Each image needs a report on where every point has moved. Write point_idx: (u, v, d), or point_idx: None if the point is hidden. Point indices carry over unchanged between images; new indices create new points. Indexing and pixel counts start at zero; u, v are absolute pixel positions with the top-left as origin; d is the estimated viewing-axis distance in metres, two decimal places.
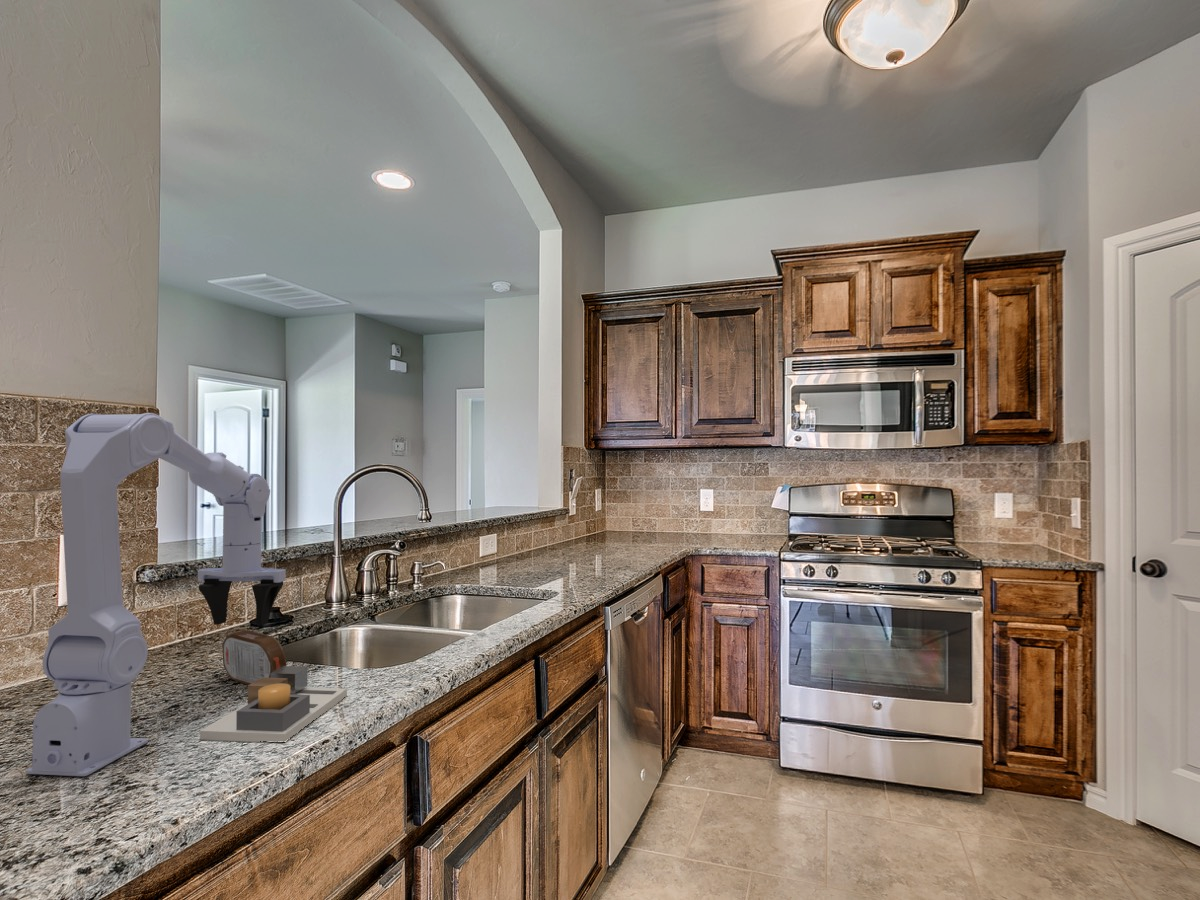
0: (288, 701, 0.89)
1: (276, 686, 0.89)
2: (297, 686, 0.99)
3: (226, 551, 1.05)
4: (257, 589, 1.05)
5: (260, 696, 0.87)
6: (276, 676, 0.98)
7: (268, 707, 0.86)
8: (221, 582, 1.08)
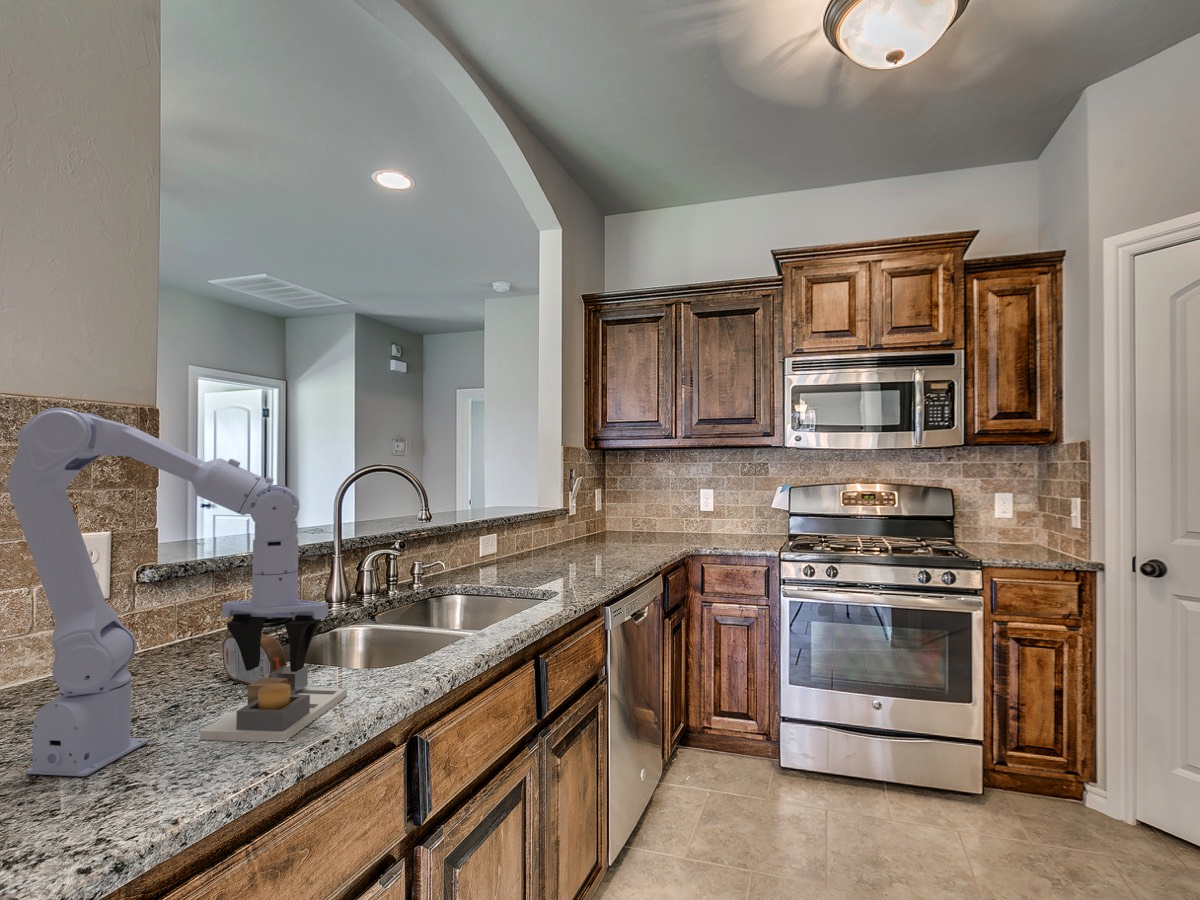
0: (288, 701, 0.89)
1: (276, 686, 0.89)
2: (297, 686, 0.99)
3: (257, 581, 0.86)
4: (291, 628, 0.86)
5: (260, 696, 0.87)
6: (276, 676, 0.98)
7: (268, 707, 0.86)
8: (253, 618, 0.89)
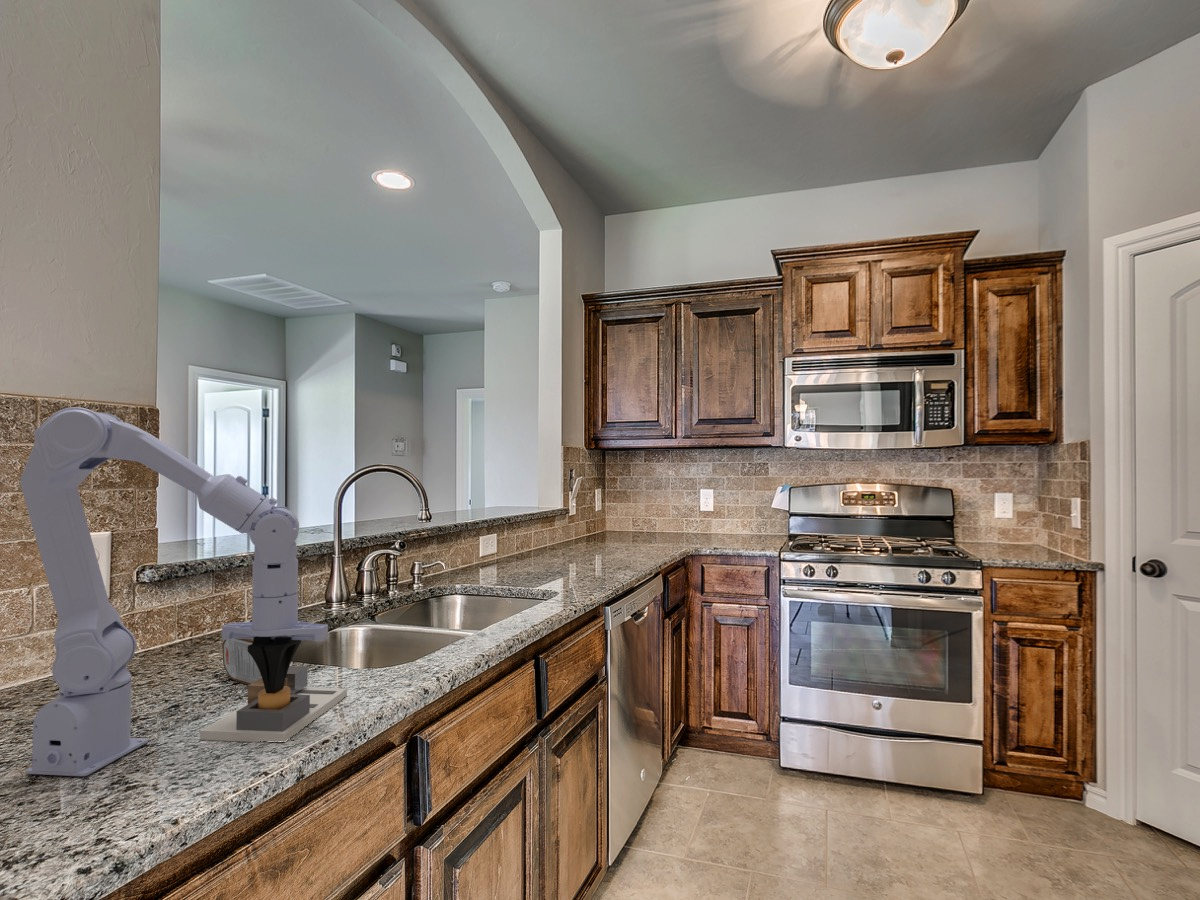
0: (288, 703, 0.88)
1: None
2: (297, 686, 0.99)
3: (257, 604, 0.86)
4: (270, 650, 0.86)
5: (260, 698, 0.87)
6: None
7: None
8: (273, 641, 0.89)
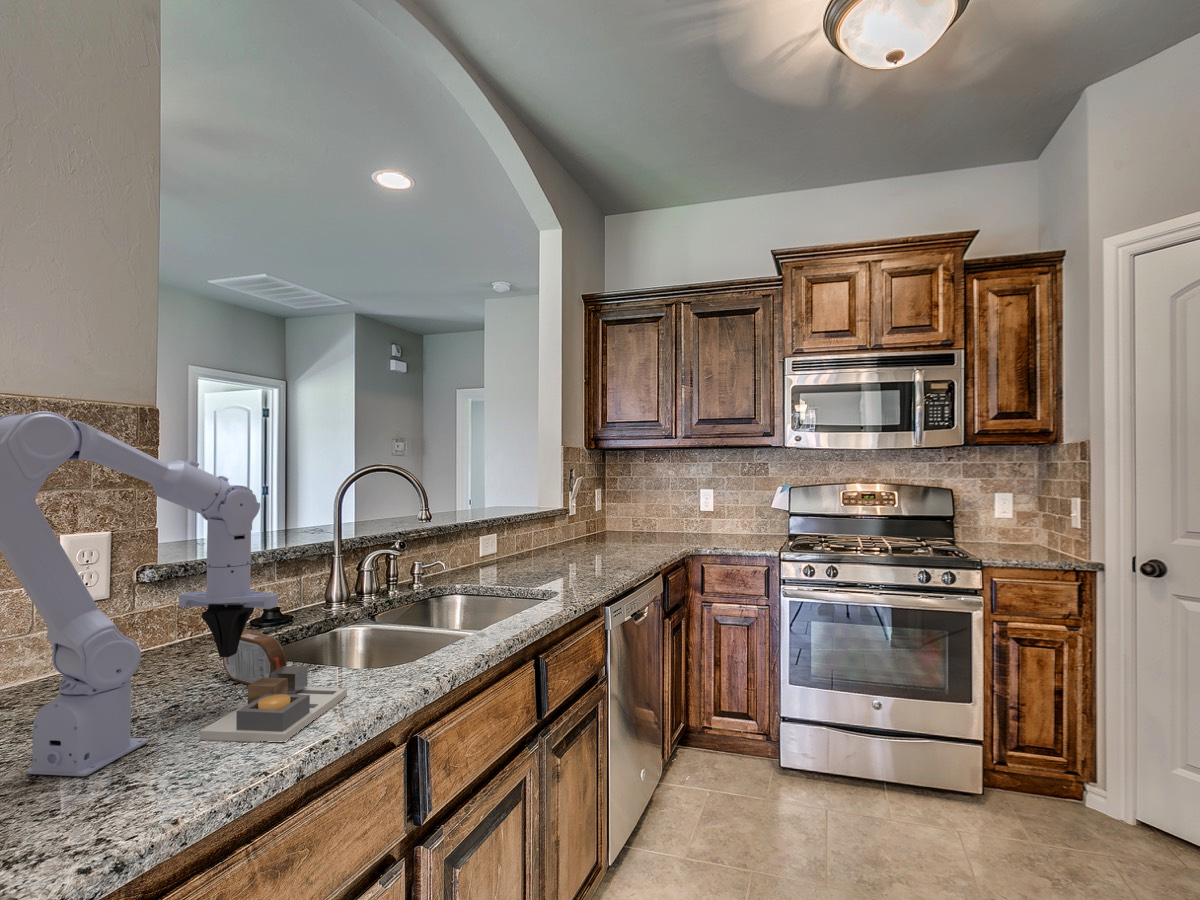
0: None
1: (276, 697, 0.89)
2: (297, 686, 0.99)
3: (210, 573, 0.93)
4: (222, 616, 0.92)
5: (260, 707, 0.87)
6: (276, 676, 0.98)
7: None
8: None
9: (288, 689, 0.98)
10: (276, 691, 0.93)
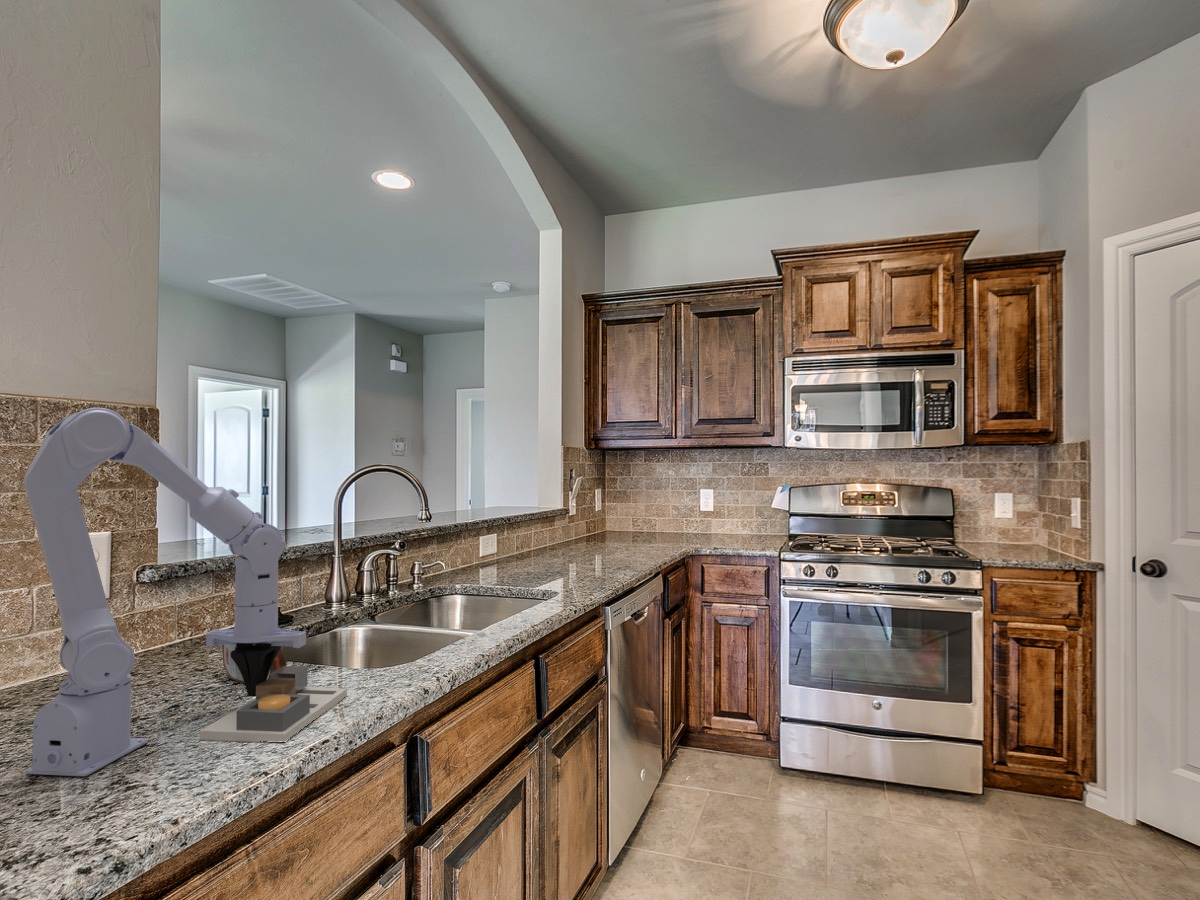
0: None
1: (276, 697, 0.89)
2: (297, 686, 0.99)
3: (239, 613, 0.92)
4: (251, 656, 0.92)
5: (260, 707, 0.87)
6: (276, 676, 0.98)
7: None
8: None
9: None
10: (284, 691, 0.93)
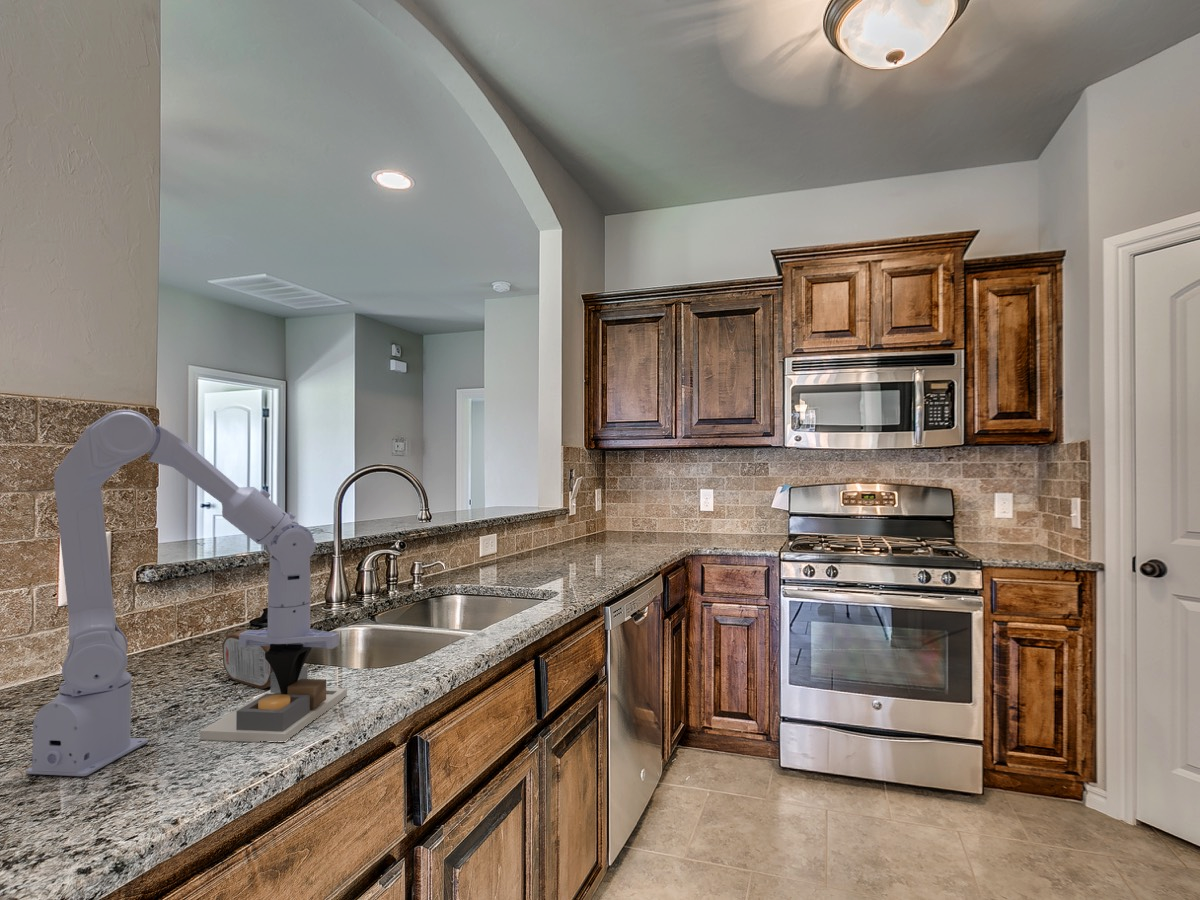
0: None
1: (276, 697, 0.89)
2: None
3: (272, 614, 0.92)
4: (283, 657, 0.92)
5: (260, 707, 0.87)
6: None
7: None
8: None
9: None
10: (316, 692, 0.93)
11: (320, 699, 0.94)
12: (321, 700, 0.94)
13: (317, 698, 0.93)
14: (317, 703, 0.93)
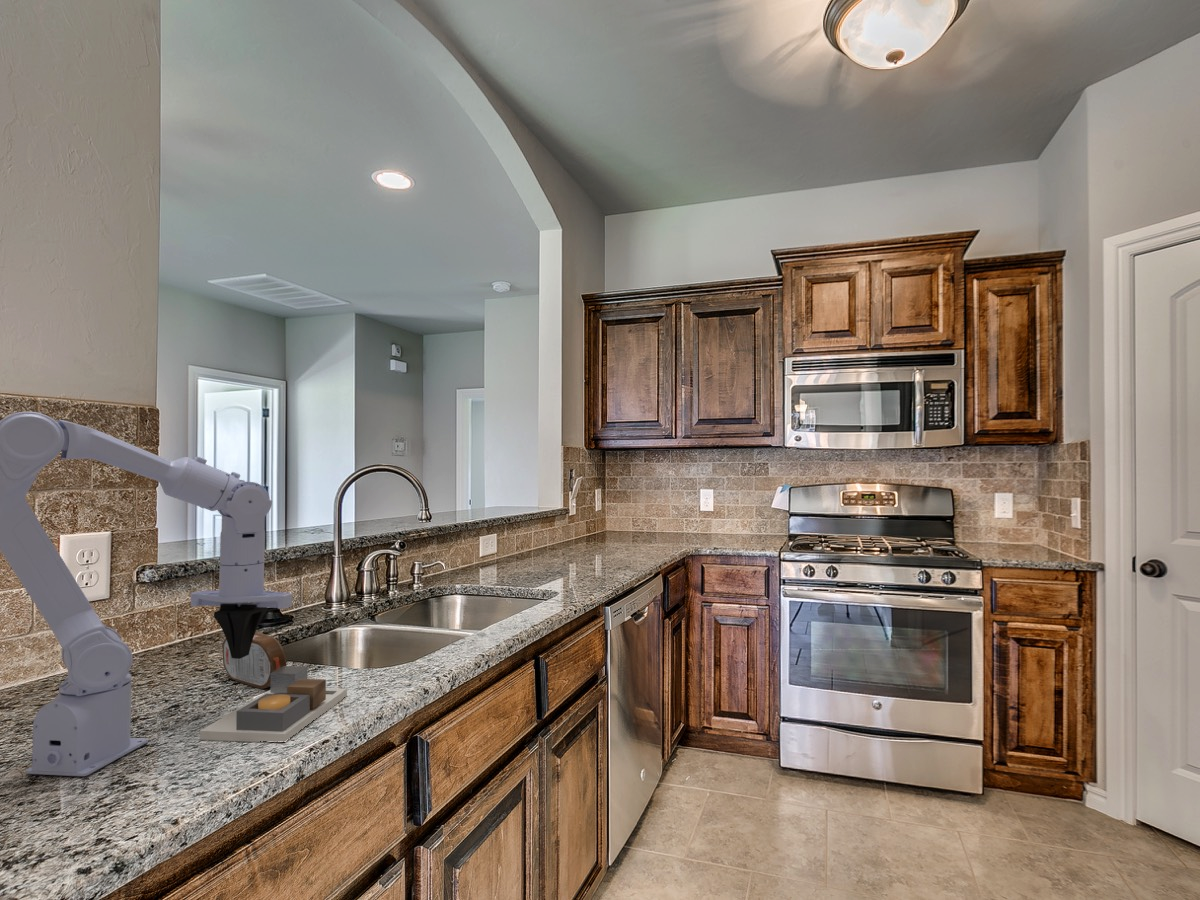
0: None
1: (276, 697, 0.89)
2: None
3: (223, 572, 0.90)
4: (235, 616, 0.90)
5: (260, 707, 0.87)
6: (276, 676, 0.98)
7: None
8: (240, 608, 0.93)
9: None
10: (316, 692, 0.93)
11: (320, 699, 0.94)
12: (321, 700, 0.94)
13: (316, 698, 0.93)
14: (317, 703, 0.93)
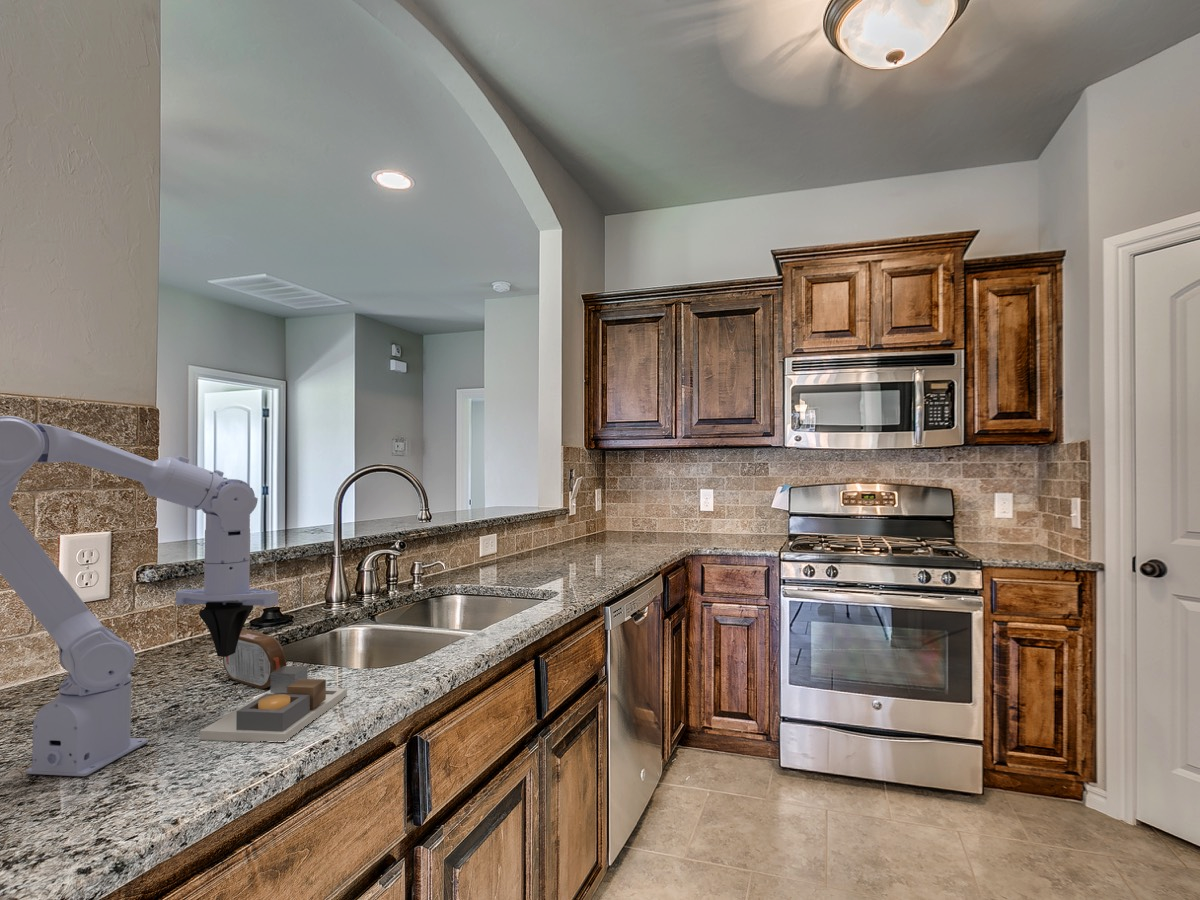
0: None
1: (276, 697, 0.89)
2: None
3: (208, 570, 0.90)
4: (221, 614, 0.89)
5: (260, 707, 0.87)
6: (276, 676, 0.98)
7: None
8: (225, 606, 0.92)
9: None
10: (316, 692, 0.93)
11: (320, 699, 0.94)
12: (321, 700, 0.94)
13: (316, 698, 0.93)
14: (317, 703, 0.93)
